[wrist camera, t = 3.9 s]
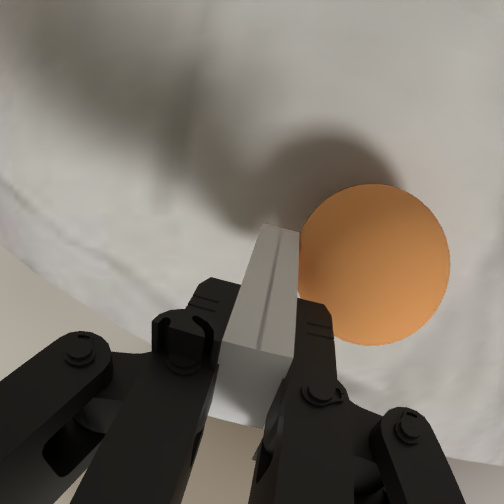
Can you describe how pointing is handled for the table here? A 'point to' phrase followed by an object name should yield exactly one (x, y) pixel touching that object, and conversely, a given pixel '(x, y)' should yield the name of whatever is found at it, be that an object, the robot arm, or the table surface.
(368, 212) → the ball
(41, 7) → the table surface
